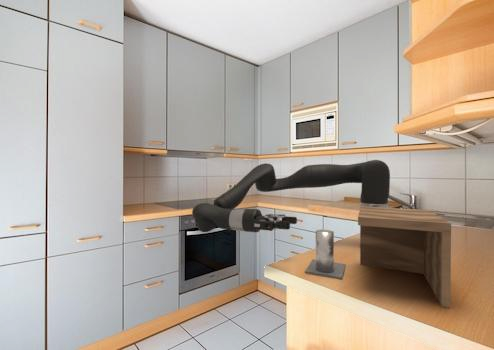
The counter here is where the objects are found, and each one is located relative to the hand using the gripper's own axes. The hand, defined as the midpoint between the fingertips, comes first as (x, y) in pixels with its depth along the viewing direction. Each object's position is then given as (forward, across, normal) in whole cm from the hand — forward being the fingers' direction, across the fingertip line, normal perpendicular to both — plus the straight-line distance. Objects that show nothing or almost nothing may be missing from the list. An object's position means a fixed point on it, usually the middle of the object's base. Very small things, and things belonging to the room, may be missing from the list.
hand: (293, 222), depth 79 cm
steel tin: (+9, -1, +13) cm, 16 cm away
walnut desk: (+27, 0, +14) cm, 31 cm away
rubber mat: (+9, +1, +13) cm, 16 cm away
